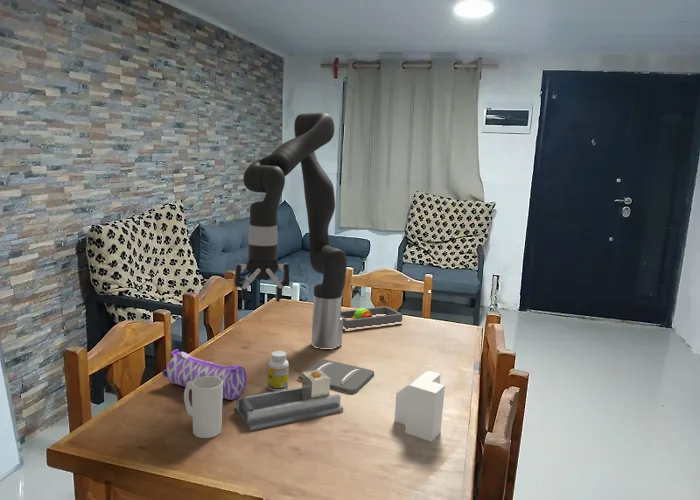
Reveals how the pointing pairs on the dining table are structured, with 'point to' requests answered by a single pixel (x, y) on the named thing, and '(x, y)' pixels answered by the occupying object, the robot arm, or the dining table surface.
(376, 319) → the gray rectangular tray
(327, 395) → the rail tray
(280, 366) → the supplement bottle
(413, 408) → the white notched block
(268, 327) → the dining table surface
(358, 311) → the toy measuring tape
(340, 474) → the dining table surface
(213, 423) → the mug
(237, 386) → the pencil case
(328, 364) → the grey flat block
